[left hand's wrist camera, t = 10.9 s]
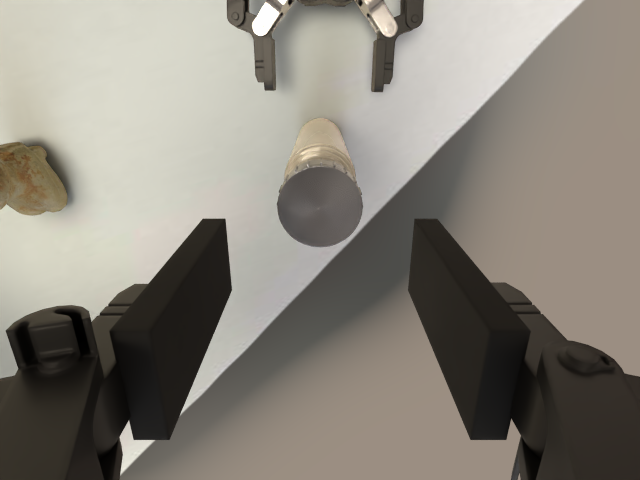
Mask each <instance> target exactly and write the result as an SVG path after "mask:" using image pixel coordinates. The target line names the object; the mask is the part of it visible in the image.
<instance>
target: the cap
mask: <svg viewBox="0 0 640 480" xmlns="http://www.w3.org/2000/svg"><path fill="white" fill-rule="evenodd" d="M279 193H280V194H279V197H278V202H277V205H278V207H277V208H278V215H279V219H280V221H281V224H282V225H283V227H284V229H285V230H286V231H287V233H288V234H289V235H290V236H291V237H293V238H294V239H295V240H297V241H298V242H300V243H303V244H305V245H308V246H313V247H327V246H332V245H335V244H337V243H340V242H342V241H343V240H345V239H346V238H347V237H349V236H350V235H351V234H352V233H353V231H354V230H355V229H356V227H357V226H358V224H359V221H360V219H361V215H362V208H363V205H362V197H361V195H362V193H361V190H360V188H359V187H358V185H357V182H356V179H355V177H354V176H352V174H351V173H350V172H349V171H348V170H347V168H346V167H343V166H341V165H340V164H338V163H336V162H335V161H334V160H333V161H330V160H323V159H322V158H320V159H317V160H310V161H309V160H307V162H304V163H302V164H300V165H299V166H297V165H296V167H295V168H294V169H293V170H292V171H291V172H290V173H289V174H287V175H286V178H285V181H284V183H283V185H281V187H280V190H279Z"/></svg>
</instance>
